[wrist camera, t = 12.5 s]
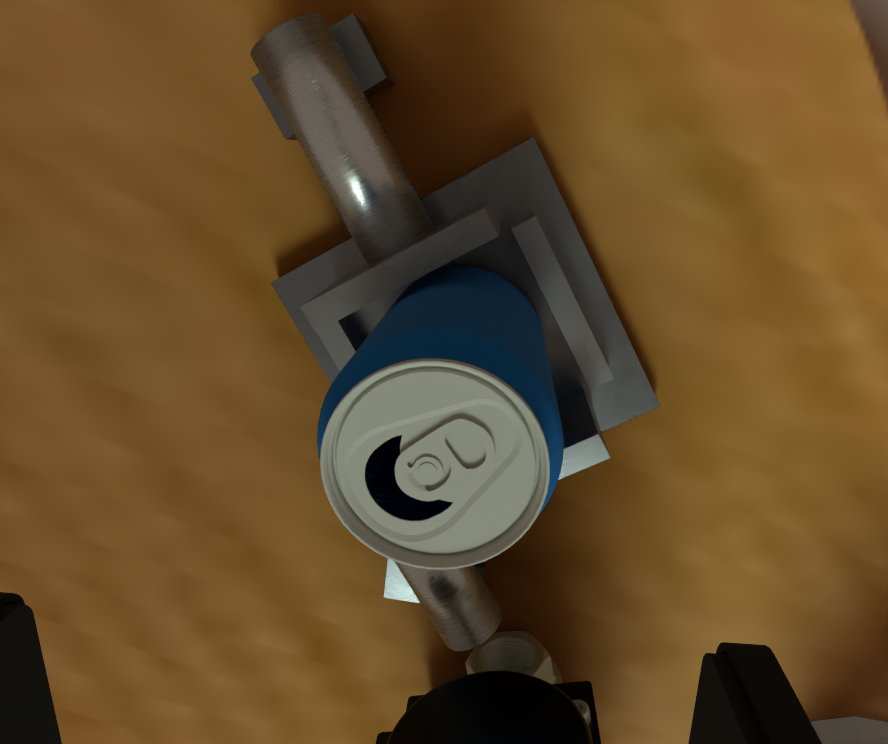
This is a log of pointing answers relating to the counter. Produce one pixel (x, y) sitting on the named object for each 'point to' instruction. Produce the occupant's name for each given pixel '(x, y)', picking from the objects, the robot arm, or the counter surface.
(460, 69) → the counter surface
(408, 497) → the beverage can
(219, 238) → the counter surface
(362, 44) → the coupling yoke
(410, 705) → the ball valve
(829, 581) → the counter surface
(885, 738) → the french press
